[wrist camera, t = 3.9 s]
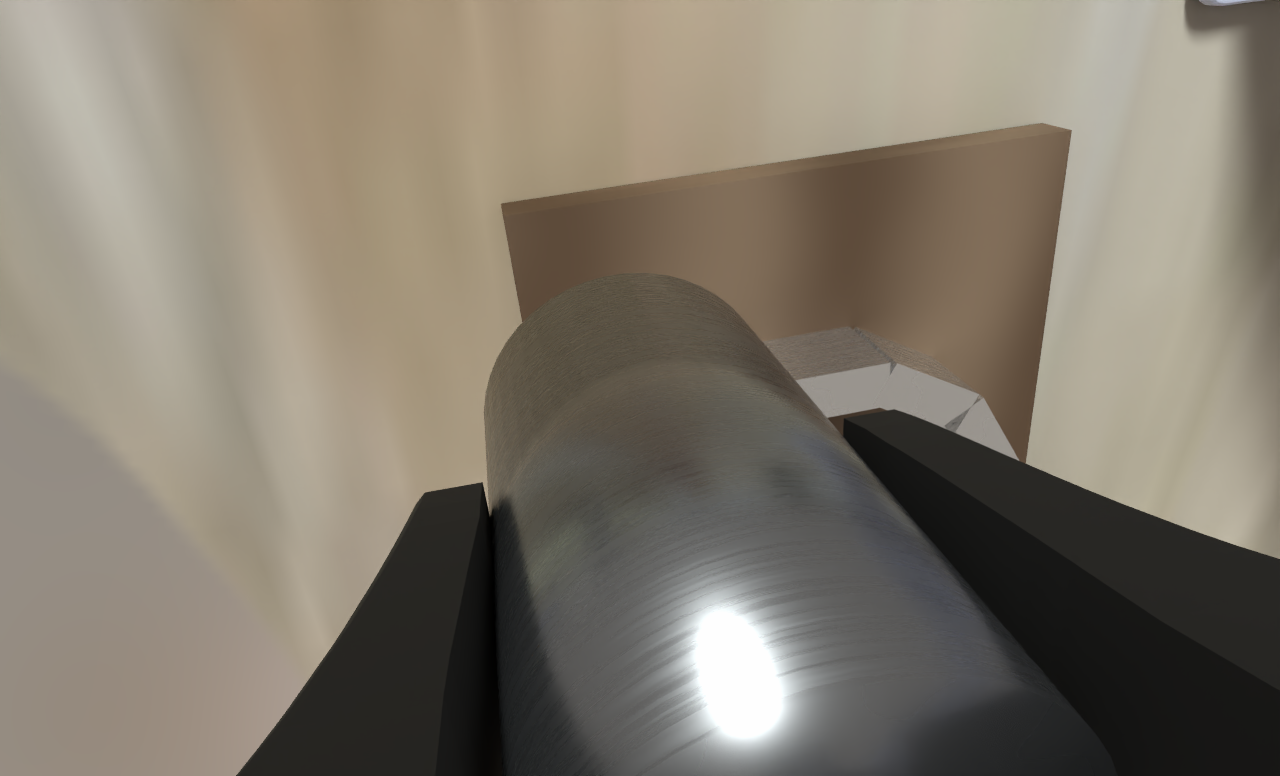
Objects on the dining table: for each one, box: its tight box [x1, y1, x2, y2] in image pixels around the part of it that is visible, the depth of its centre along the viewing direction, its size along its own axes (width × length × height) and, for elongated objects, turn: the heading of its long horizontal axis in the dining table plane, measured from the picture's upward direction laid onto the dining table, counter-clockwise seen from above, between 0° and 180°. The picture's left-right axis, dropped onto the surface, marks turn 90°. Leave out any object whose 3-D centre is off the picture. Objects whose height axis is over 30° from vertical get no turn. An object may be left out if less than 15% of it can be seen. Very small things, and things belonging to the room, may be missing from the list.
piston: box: [484, 273, 1117, 776], centre depth 8 cm, size 4×4×7 cm
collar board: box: [501, 123, 1072, 463], centre depth 20 cm, size 12×16×3 cm
